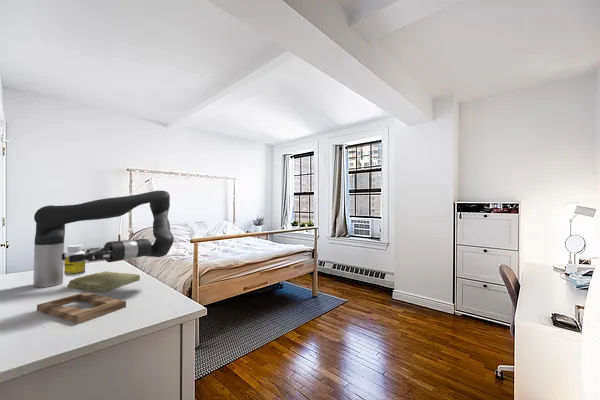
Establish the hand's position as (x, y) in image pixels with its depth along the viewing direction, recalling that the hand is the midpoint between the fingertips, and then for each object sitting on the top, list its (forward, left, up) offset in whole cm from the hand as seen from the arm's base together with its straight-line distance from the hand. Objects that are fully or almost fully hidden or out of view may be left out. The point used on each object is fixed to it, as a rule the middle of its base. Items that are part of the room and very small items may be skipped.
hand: (65, 258), depth 90 cm
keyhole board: (+5, +2, -17) cm, 18 cm away
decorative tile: (-17, +23, -17) cm, 33 cm away
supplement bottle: (0, +3, -6) cm, 7 cm away
